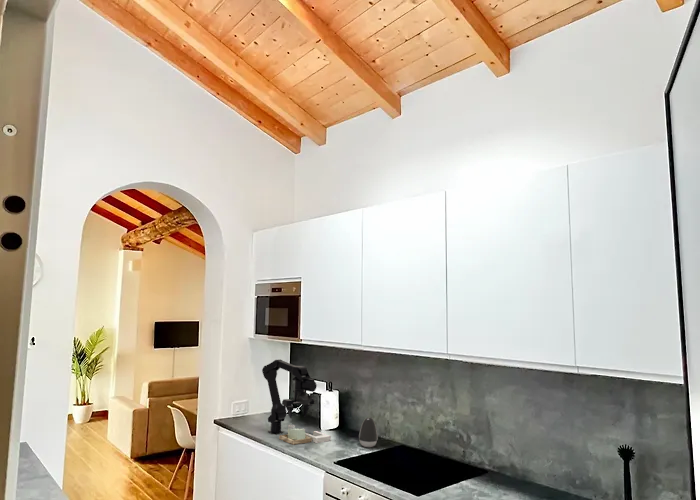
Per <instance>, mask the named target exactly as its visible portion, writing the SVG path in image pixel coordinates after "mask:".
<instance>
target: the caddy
mask: <svg viewBox="0 0 700 500" xmlns="http://www.w3.org/2000/svg"><path fill="white" fill-rule="evenodd" d="M305 433H306V428H298V427H296V425H294V424H288V428H287V434H288V438H289V439H295V440H300V439H305Z"/></svg>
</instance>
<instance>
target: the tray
mask: <svg viewBox="0 0 700 500" xmlns="http://www.w3.org/2000/svg"><path fill="white" fill-rule="evenodd" d="M278 438H279V440H280V441H282V440H283V441H282V442H285V443H287V444H290V445H293V446H295V445H302V444H307V443H308V444H309V443H313V442H312V438H310V437H307V436H305V439H300V440H295V439H289V438H288V433H287V434H282V435H279V437H278Z"/></svg>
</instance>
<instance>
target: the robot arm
mask: <svg viewBox="0 0 700 500" xmlns="http://www.w3.org/2000/svg"><path fill="white" fill-rule="evenodd" d="M280 369H281V370H284V371H287V372H289V373H291V375H292V376H294V377H293V378H292V379H291V380H292V381H294V388H293V389H294V390H292V393H293V397H292V399H290V398H284V399H282V401H281V398H280V397H281V396H280V394H279V393H280V392H279V389H278V388H279V387H278V385H277V376H278V371H279V370H280ZM261 372H262V375H263V377H264V379H265V380H266V381H267V384H268V390H269V394H270V398H271V399H270V400H271V405H272V407H271V409H270V412H271V413H270V415H269V417H268V418H267V422H268V423H270V429H269V430H268V433H270V434H273V435H276V434H283V432H284V431H282V422H285V418H286V416H287V414H288V416H289V418H290V419H292V417H293V408H294V405H296V404H300V405H302V411H303V417H304V418H305V417H306V416H307V413H308V412H309V409H310V408H311V407H312V406H313V405H315V403H316V401H315V398H314V397H313V395H311V394H309V395H308V394H307V391H308V392H312V393H313V392H315V391H316V389H317V386H318V385H317V383H316V381H315V379H314V378H311V376H310V373H309V371H308V368H307V367H306V366H304V365H303V366H302V365H295V364H292V363H289V362H287V361H285V360H283V359H275V360H273V361H272V362H270V363H268V364H266V365H264V366H263V367H262V369H261Z"/></svg>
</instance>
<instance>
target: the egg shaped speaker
mask: <svg viewBox="0 0 700 500" xmlns="http://www.w3.org/2000/svg"><path fill="white" fill-rule="evenodd" d="M378 437H379V436H378V431H377V425H376V423H375V421H374V418H373V417H372V416H369V417H365V418H364V420H363V421H362V423H361V426H360V430H359V434H358V440H359V443H360V445H361V446H362V447H364V448H373V447H375V446H376V444H377V441H378V439H379V438H378Z"/></svg>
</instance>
